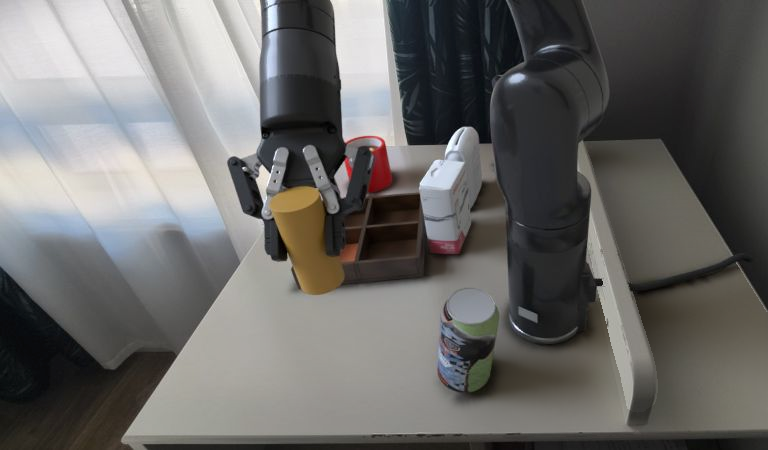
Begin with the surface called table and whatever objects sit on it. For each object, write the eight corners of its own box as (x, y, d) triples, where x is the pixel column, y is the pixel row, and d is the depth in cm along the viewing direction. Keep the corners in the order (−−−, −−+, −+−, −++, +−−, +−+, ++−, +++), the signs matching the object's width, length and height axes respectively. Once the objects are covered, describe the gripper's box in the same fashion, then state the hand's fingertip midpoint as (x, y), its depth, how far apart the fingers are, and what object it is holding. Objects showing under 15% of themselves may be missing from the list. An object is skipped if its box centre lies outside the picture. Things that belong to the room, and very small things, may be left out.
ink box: (458, 256, 74) (450, 189, 67) (427, 253, 75) (416, 187, 68) (472, 223, 81) (466, 159, 74) (444, 221, 82) (435, 157, 75)
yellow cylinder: (347, 264, 52) (323, 184, 47) (340, 292, 49) (313, 209, 43) (306, 268, 52) (276, 188, 46) (296, 297, 49) (262, 214, 43)
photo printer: (462, 181, 92) (456, 119, 85) (484, 182, 92) (480, 120, 84) (447, 211, 84) (439, 146, 77) (471, 213, 83) (465, 147, 76)
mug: (343, 206, 87) (332, 167, 82) (353, 173, 97) (344, 137, 92) (388, 203, 87) (380, 164, 83) (394, 170, 97) (387, 133, 92)
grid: (426, 209, 85) (424, 191, 83) (423, 277, 71) (419, 257, 68) (323, 218, 84) (317, 200, 82) (297, 288, 70) (290, 269, 68)
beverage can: (442, 354, 59) (430, 280, 52) (503, 354, 59) (499, 279, 52) (435, 400, 54) (420, 324, 47) (502, 400, 53) (497, 323, 46)
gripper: (207, 77, 45) (207, 261, 42) (363, 65, 46) (374, 246, 43) (246, 109, 52) (248, 268, 50) (380, 99, 53) (390, 255, 50)
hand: (306, 257), depth 46 cm, fingers closed on yellow cylinder, 4 cm apart
